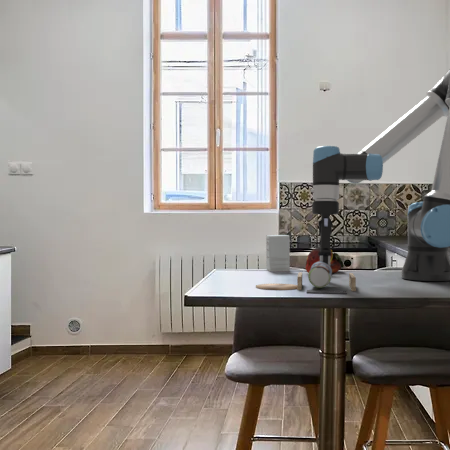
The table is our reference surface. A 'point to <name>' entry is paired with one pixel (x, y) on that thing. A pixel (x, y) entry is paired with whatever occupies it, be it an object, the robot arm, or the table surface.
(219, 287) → the table surface
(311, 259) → the dark red rounded pieces
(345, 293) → the pad
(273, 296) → the table surface
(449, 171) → the robot arm
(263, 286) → the coaster
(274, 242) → the supplement box
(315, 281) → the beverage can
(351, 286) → the channel
